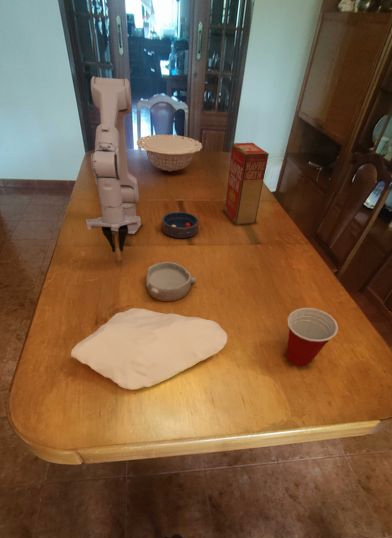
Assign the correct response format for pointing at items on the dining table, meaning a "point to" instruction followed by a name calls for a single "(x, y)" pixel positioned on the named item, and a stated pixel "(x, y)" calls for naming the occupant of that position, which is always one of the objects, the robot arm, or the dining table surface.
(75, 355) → the crumpled cloth
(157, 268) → the dish
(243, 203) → the food packaging
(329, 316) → the plastic cup
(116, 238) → the stick
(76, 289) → the dining table surface
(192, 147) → the woven basket
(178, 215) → the bowl
